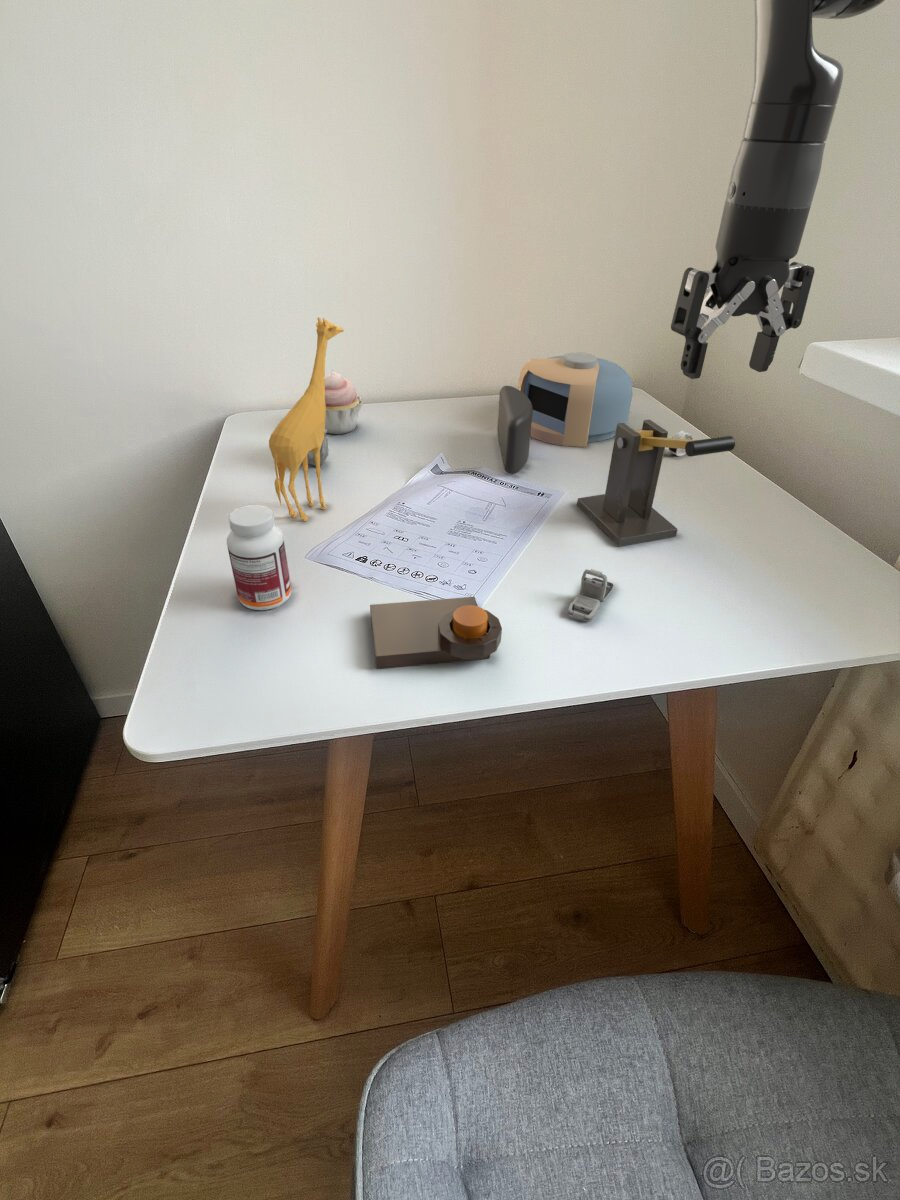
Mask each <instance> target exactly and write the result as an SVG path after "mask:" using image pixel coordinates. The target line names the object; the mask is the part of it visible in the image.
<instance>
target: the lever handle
mask: <svg viewBox="0 0 900 1200" xmlns="http://www.w3.org/2000/svg"><path fill="white" fill-rule="evenodd" d="M635 431H636V432H637V433H639V434H640V435H641V439H640V444H639V450H638V451H645V450H653V446H655V447H665V448H667V449H669V448H678V449H679V450H682V449H685V452H686V454H685V455H686V456H688V457H698V456H705V455H712V454H718V453H725V452H731V451H733V450H734V449H735V446H736V440H735V438H734V436H732V435H727V436H718V437H711V438H703V439H692V440H690V439H685V438H681V439H675V438H672V437H667V438H661V437H653V431H650V430H642V429H638V430H635Z"/></svg>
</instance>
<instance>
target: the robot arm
mask: <svg viewBox="0 0 900 1200" xmlns="http://www.w3.org/2000/svg"><path fill="white" fill-rule="evenodd" d="M753 1H754V3H753V5H754V56H753V57H754V61H753V62H754V65H753V66H754V67H753V68H754V71H753V72H754V75H753V76H754V77H753V87H752V94H751V96H750V97H751V98H750V102H749V107H748V110H747V115H746V120H745V124H744V127H743V128H744V129H743V133H742V139H741V141H740V145H739V148H738V152H737V154H736V157H735V160H734V163H733V165H732V170H731V174H730V179H729V183H728V187H727V192H726V197H725V200H724V207H723V209H722V214H721V220H720V224H719V228H718V232H717V237H716V242H715V251H716V260H715V263H714V264H713V267H712V268H711V270H700V269H697V268H694V267H687V268H686V269H685V270H684V272H683V275H682V279H681V282H680V283H681V284H680V287H679V291H678V295H677V299H676V302H675V307H674V312H673V315H672V320H671V323H670V330H671V331H672V332H674V333H676V334H678V335H681V336H683V337H684V338H685V341H684V342H685V343H684V346H683V351H682V357H681V361H680V370H681V371H682V374H683V376H685V377H687V378H688V379H691V380H695V379H696V380H697V379H700V378H701V376H702V371H703V367H704V363H705V359H706V353H707V349H708V346H709V345H708V344H709V343H708V340H709V339H710V337H711V336H712V335H713V333H714V332H715V331H716V330H717V329H718V327H721V326H723V325H725V324H726V323H727V321H728V320H729V319H730V318H731V317H734V318H735V317H742V316H744V315H747V314H748V315H751V316H756V319H757V322H758V324H759V327H760V329H761V331H757V333H756V337H755V341H754V344H753V347H752V351H751V355H750V358H749V361H748V365H749V368H750V369H751V370H754V371H756V372H758V373H765V372H767V371H768V370H769V366H771V365H772V363H773V360H774V357H775V354H776V350H777V348H778V347H777V346H778V344H779V340H780V337H781V336H782V335H784V333H786V331H788V330H790V329H795V330H796V329H798V328H799V327H800V326H801V324H802V322H803V318H804V313H805V310H806V307H807V303H808V298H809V294H810V292H811V291H810V290H811V287H812V283H813V279H814V275H815V267H814V266H811V265H808V264H806V263H802V262H796V261H792V262H791V263H790V260H791V259H793V258H795V257H796V256H797V255H798V253H799V250H800V246H801V243H802V238H803V235H804V231H805V228H806V225H807V220H808V217H809V214H810V210H811V207H812V204H813V200H814V197H815V192H816V189H817V186H818V182H819V179H820V175H821V170H822V166H823V165H822V164H823V159H824V152H825V147H826V142H827V141H828V136H829V133H830V129H831V126H832V121H833V119H834V115H835V113H836V112H835V111H836V108H837V105H838V100H839V97H840V93H841V89H842V85H843V80H844V67H843V66H842V63H841V62H840V61H838V60H837V59H835V58H833V57H831V56H829V55H826V54H823V53H822V52H820V51H818V49H816V47H815V43H814V35H813V19H826V20H845V19H850V18H853V17H857V16H861V15H862V14H865V13H867V12H869V11H871V10H873V9H875V8H877V7H878V6H880V5H881V4H883V3H884V2H885V1H886V0H753ZM710 290H711V291H710ZM780 290H782V291H781V295H780V294H779V292H780ZM706 294H707V296H706ZM705 296H706V297H705ZM716 306H717V309H714V308H715V307H716ZM790 312H791V313H790Z"/></svg>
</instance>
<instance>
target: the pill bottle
mask: <svg viewBox="0 0 900 1200" xmlns="http://www.w3.org/2000/svg"><path fill="white" fill-rule="evenodd" d="M228 522H229V528H230V532H229V533H228V535H227V537H226V546H227V552H228V556H229V561H230V566H231V571H232V575H233V579H234V585H235V589H236V594H237V598H238V601H239V602H240V604H241V605H242V606H244V607H246V608H247V609H250V610H255V611H268V610H273V609H276V608H278V607H280V606H282V605H283V604H285V603H286V602H287V601H288V600H289V598H290V597H291V595H292V583H291V577H290V571H289V565H288V557H287V551H286V546H285V539H284V534H283V531H282V530H281V529H280V527H279V526H278V525H276V524H275V518H274V513H273V511H272V509H271V508H269V507H267V506H265V505H261V504H249V505H244V506H240V507H238V508H235V509H234V510H232V511H231V512H230V514H229V515H228Z"/></svg>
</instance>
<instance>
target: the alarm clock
mask: <svg viewBox="0 0 900 1200" xmlns="http://www.w3.org/2000/svg"><path fill="white" fill-rule="evenodd" d="M517 385H518V386H517V389H518V390H520V391H521V392H523V393H524V394H525V395H526V396H527V397H528V398H529V400H530V401H531V404H532V408H533V412H532V423H531V434H530V438H533V439H535V440H538V441H542V442H544V443H547V444H551V445H558V446H564V447H579V448H587V446H588V443H596V442H602V441H605V440H608V439H611V438H613V437H615V433H616V427H617V423H625V424H626V425H627V423H628V421H629V416H630V411H631V405H632V402H633V401H632V400H633V381H632V378H631V376H630V373H628V371H627V370H626V369H624V368H623V367H622V366H620V365H619V364H617V363H616V362H613V361H610V360H608V359H604V358H600V357H596V356H595V355H594V354H592V353H587V352H582V351H581V352H580V351H574V352H568V353H565V354H564V355H556V356H551V357H547V358H531V359H530V360H529V361H527V362H526V363H525V364H524V366H522V368H521V370H520V374H519V377H518V384H517Z"/></svg>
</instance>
